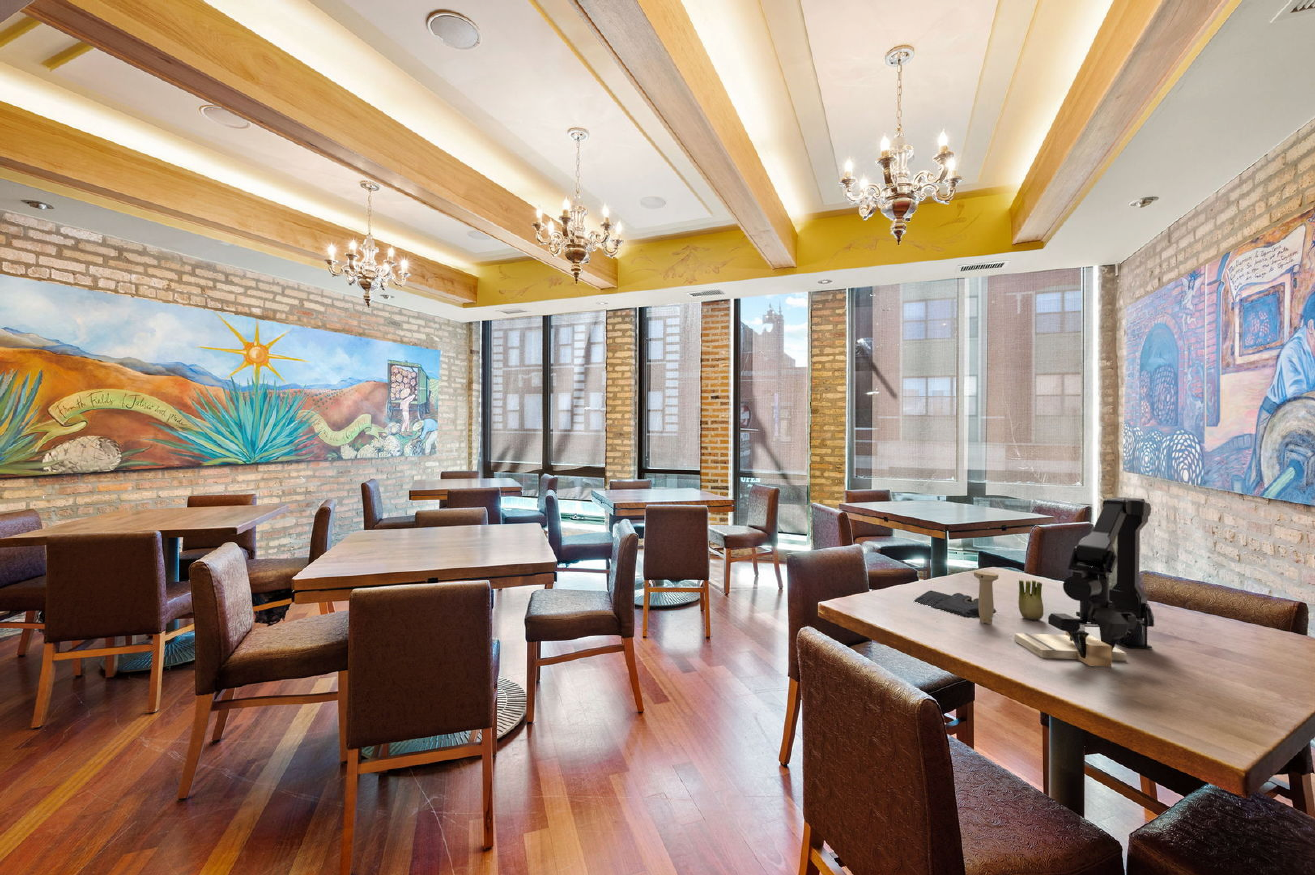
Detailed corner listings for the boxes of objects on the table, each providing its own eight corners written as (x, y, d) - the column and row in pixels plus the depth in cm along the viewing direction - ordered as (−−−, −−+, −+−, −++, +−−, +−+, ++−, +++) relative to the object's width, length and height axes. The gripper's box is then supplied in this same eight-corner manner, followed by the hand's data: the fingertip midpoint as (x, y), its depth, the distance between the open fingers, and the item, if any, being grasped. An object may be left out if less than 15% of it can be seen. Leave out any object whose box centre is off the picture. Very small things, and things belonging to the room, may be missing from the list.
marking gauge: (1079, 649, 143) (1079, 630, 143) (1111, 666, 132) (1111, 646, 132) (1059, 649, 143) (1059, 630, 143) (1089, 666, 132) (1089, 645, 132)
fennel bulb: (1016, 617, 170) (1016, 579, 170) (1026, 615, 172) (1025, 577, 172) (1036, 623, 165) (1036, 583, 165) (1046, 620, 167) (1046, 581, 167)
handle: (993, 627, 160) (993, 576, 161) (970, 621, 166) (970, 572, 166) (1001, 624, 163) (1001, 574, 163) (978, 618, 168) (978, 570, 169)
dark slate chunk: (936, 597, 194) (937, 583, 194) (1001, 614, 175) (1001, 599, 175) (909, 603, 186) (909, 589, 187) (973, 621, 167) (973, 606, 167)
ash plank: (1091, 643, 148) (1091, 635, 148) (1125, 660, 136) (1125, 652, 136) (1014, 640, 150) (1014, 633, 150) (1041, 657, 138) (1041, 649, 138)
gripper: (1077, 603, 127) (1077, 670, 127) (1162, 605, 126) (1162, 673, 126) (1046, 590, 138) (1046, 652, 138) (1124, 592, 137) (1124, 654, 137)
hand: (1094, 658), depth 134 cm, fingers closed on marking gauge, 5 cm apart
